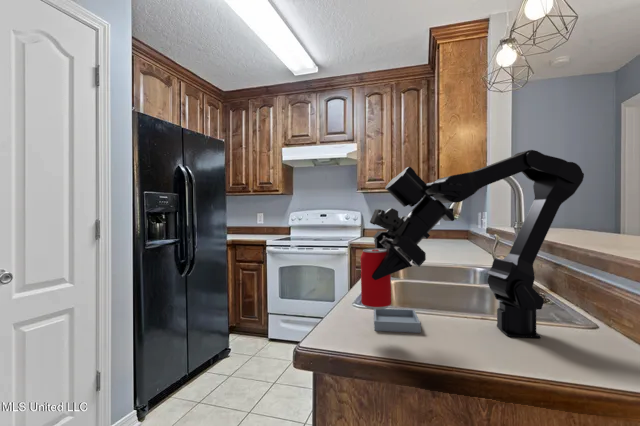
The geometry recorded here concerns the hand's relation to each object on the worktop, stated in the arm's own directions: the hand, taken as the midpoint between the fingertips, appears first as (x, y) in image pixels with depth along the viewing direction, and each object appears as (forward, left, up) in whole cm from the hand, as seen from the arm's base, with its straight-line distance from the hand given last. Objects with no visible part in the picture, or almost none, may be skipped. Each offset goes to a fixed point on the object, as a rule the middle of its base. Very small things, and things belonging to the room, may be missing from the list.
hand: (369, 275), depth 69 cm
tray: (-6, -9, -13) cm, 17 cm away
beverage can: (-1, 0, -7) cm, 7 cm away
